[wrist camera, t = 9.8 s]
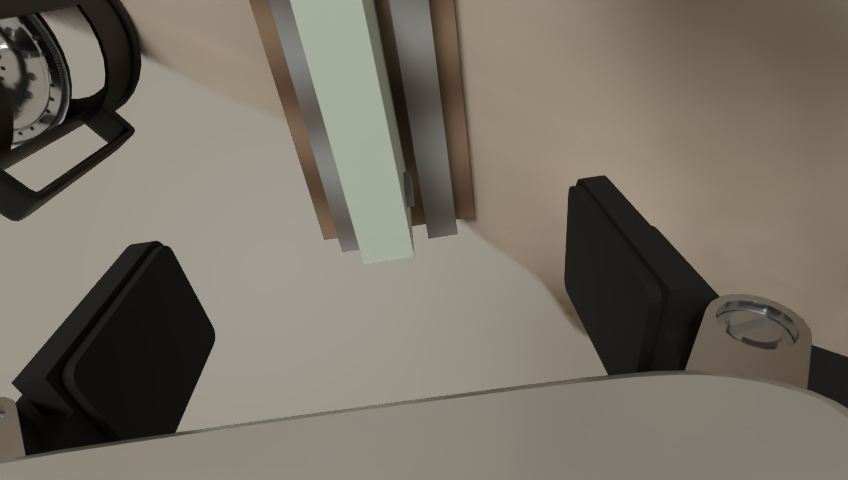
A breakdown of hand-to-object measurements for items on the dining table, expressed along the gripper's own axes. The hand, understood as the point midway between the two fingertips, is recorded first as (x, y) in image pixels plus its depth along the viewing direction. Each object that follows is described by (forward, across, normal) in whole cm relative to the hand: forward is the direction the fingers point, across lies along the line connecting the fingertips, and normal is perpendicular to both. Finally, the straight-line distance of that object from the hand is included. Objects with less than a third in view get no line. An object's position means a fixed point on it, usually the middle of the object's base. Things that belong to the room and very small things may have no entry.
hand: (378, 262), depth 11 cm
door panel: (+20, +1, +1) cm, 20 cm away
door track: (+20, +1, +1) cm, 21 cm away
